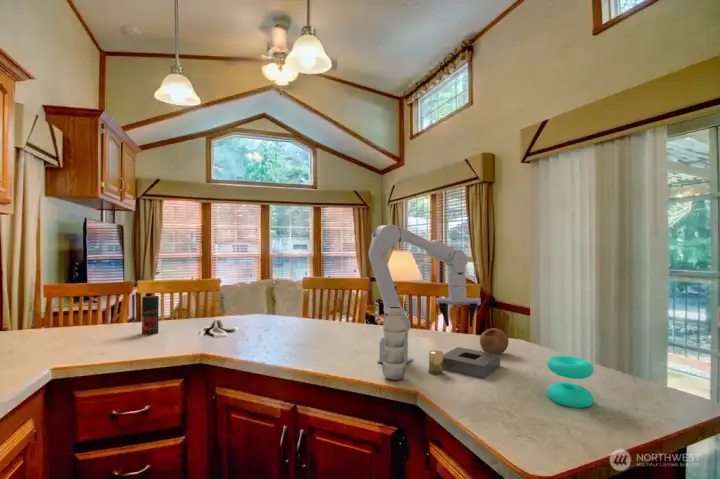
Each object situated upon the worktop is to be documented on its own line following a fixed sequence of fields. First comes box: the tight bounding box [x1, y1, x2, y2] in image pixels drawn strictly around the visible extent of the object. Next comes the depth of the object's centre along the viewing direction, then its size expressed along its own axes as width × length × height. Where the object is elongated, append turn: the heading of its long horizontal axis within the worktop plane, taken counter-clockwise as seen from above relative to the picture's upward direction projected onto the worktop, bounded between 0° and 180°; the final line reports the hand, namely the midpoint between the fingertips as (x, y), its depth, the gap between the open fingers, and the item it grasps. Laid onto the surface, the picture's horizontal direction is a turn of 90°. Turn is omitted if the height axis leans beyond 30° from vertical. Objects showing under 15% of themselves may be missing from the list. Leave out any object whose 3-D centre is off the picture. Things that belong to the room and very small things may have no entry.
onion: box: [479, 327, 509, 355], centre depth 135 cm, size 10×9×10 cm
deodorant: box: [141, 295, 160, 336], centre depth 160 cm, size 6×6×15 cm
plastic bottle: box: [381, 306, 407, 380], centre depth 110 cm, size 6×7×20 cm
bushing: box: [428, 350, 444, 376], centre depth 115 cm, size 4×4×6 cm
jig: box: [443, 346, 501, 379], centre depth 120 cm, size 14×14×4 cm
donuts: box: [546, 355, 595, 409], centre depth 96 cm, size 10×10×10 cm
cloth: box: [194, 318, 240, 338], centre depth 162 cm, size 22×19×6 cm
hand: (459, 325), depth 131 cm, fingers open, 7 cm apart
